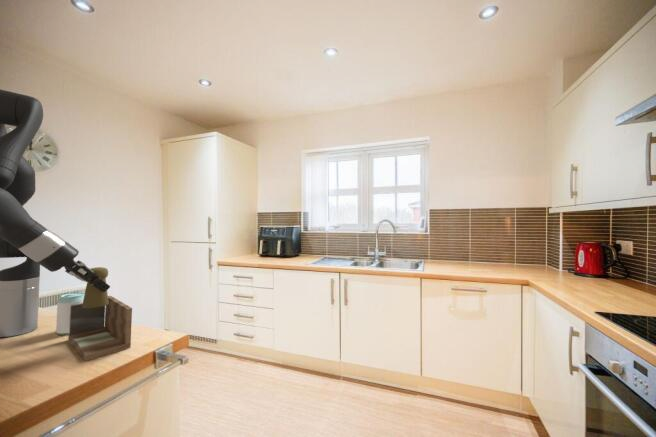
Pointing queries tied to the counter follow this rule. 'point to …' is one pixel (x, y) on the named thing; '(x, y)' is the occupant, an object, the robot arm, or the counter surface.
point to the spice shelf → (100, 329)
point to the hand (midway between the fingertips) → (104, 287)
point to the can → (66, 311)
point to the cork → (96, 291)
